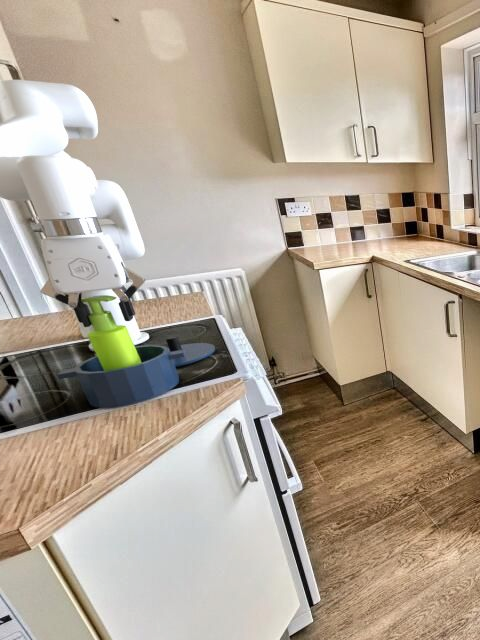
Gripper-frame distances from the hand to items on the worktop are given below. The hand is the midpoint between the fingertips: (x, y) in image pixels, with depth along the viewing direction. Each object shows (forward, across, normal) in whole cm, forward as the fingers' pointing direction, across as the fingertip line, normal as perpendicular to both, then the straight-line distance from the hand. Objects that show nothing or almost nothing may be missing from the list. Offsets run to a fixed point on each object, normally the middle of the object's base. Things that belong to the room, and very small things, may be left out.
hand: (109, 321), depth 84 cm
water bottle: (+16, -19, +55) cm, 60 cm away
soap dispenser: (+15, 0, 0) cm, 15 cm away
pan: (+15, 0, 0) cm, 15 cm away
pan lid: (+15, +5, +17) cm, 23 cm away
